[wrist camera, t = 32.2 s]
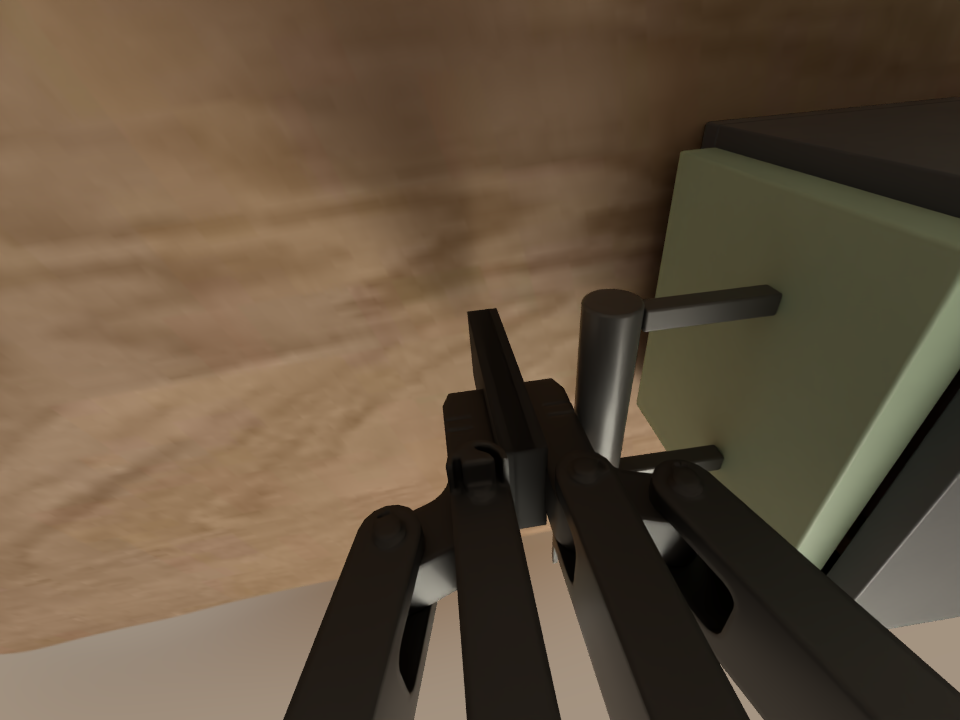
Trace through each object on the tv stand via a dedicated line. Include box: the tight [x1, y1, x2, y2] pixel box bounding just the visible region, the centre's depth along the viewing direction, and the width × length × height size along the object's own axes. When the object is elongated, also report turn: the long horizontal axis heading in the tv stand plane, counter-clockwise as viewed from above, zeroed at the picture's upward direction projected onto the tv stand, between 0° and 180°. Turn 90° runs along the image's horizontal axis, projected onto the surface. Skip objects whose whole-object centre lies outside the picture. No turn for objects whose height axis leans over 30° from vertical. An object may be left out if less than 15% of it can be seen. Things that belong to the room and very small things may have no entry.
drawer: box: [574, 148, 960, 570], centre depth 13 cm, size 18×10×9 cm, turn 94°
